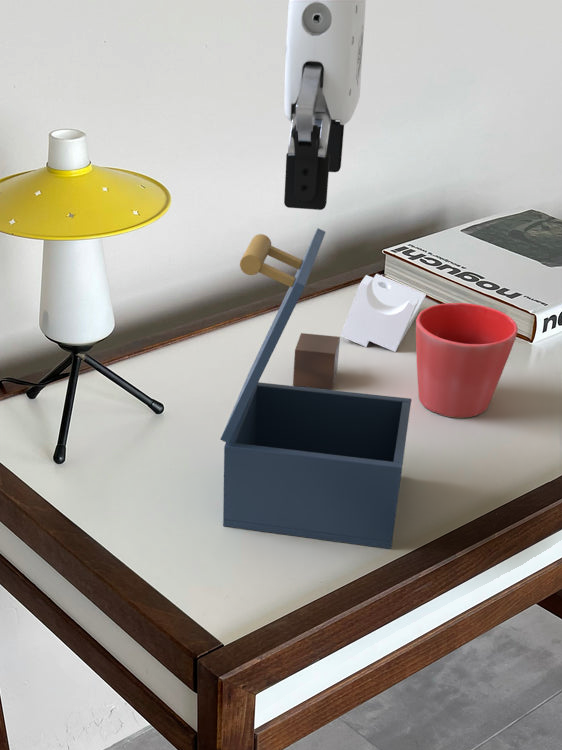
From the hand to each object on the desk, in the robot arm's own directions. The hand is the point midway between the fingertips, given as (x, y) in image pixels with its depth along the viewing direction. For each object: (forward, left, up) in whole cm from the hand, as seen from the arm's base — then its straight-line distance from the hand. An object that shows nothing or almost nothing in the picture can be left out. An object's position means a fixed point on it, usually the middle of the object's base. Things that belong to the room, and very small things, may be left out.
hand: (313, 188), depth 82 cm
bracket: (-6, -41, -30) cm, 51 cm away
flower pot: (-15, -23, -30) cm, 40 cm away
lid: (+2, +1, -13) cm, 13 cm away
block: (+1, -25, -30) cm, 39 cm away
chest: (-2, 0, -30) cm, 30 cm away
